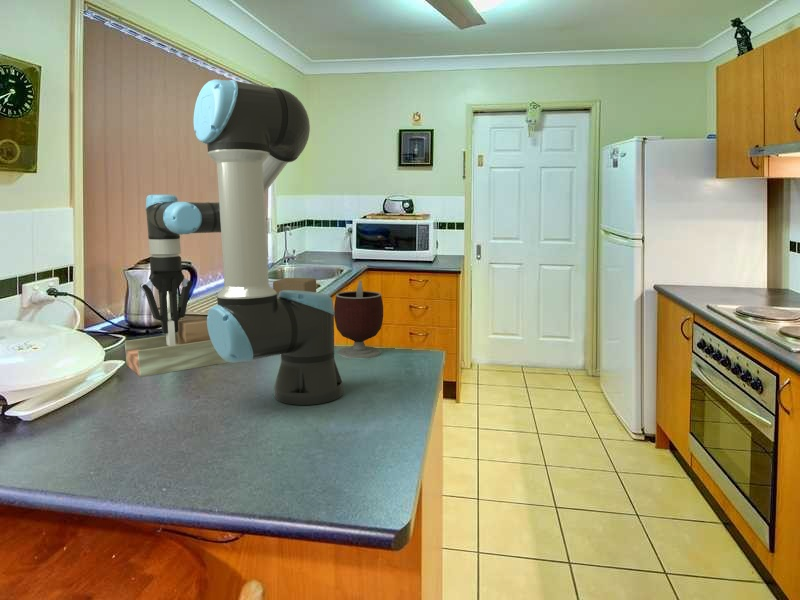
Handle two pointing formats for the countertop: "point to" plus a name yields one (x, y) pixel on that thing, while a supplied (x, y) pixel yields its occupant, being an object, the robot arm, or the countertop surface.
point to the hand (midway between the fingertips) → (171, 344)
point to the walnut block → (192, 330)
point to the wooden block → (295, 284)
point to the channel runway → (168, 355)
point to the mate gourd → (358, 320)
